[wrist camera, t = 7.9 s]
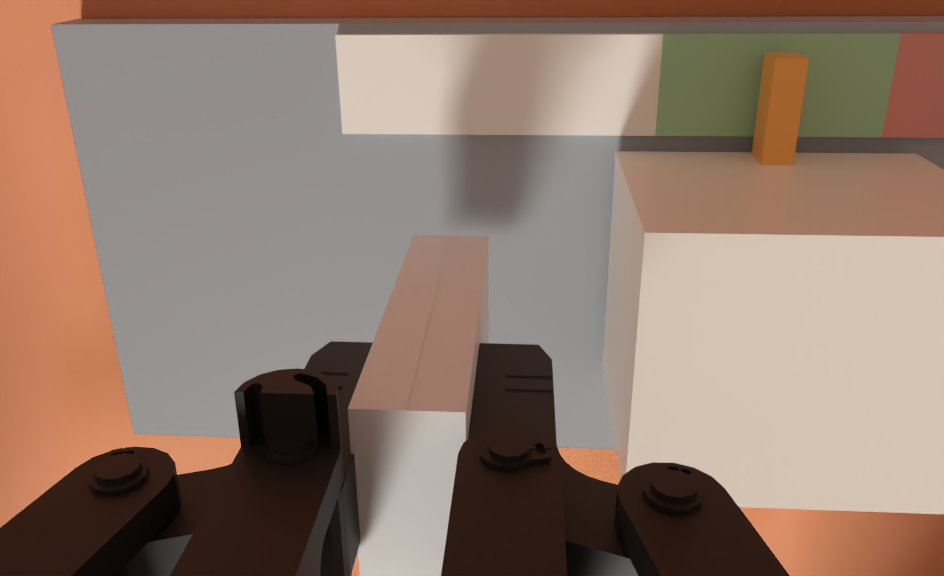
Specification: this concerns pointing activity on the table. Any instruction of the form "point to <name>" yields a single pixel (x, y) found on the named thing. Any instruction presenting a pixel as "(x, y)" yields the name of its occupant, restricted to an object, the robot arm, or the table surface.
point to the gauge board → (420, 171)
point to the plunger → (781, 316)
